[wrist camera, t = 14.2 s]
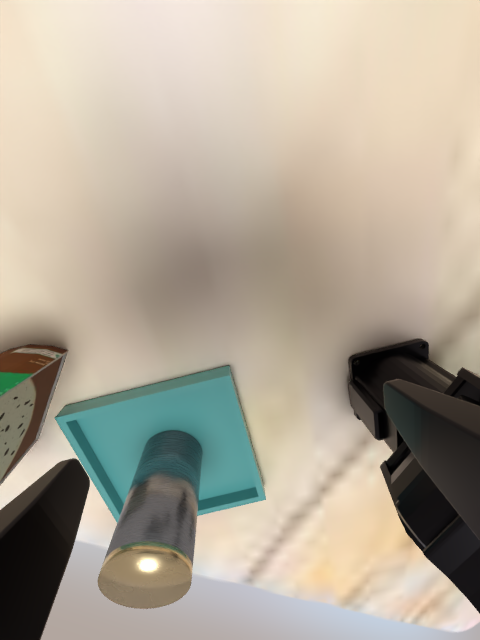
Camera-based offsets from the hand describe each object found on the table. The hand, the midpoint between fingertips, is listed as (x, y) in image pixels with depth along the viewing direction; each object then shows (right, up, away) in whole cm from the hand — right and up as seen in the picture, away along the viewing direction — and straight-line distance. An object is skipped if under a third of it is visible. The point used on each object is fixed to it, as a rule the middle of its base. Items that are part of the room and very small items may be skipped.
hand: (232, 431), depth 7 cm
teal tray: (-6, -9, +16) cm, 19 cm away
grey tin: (-6, -9, +16) cm, 19 cm away
